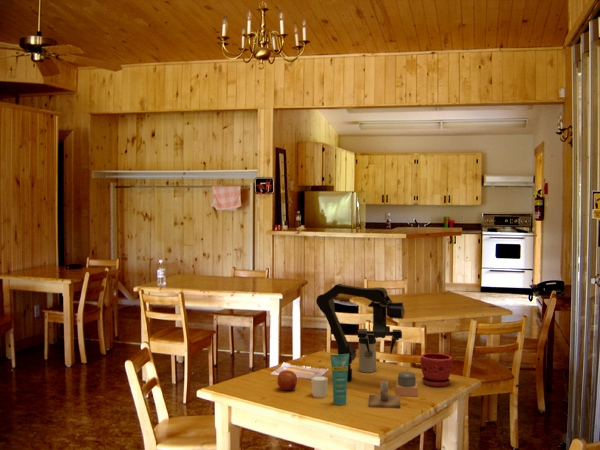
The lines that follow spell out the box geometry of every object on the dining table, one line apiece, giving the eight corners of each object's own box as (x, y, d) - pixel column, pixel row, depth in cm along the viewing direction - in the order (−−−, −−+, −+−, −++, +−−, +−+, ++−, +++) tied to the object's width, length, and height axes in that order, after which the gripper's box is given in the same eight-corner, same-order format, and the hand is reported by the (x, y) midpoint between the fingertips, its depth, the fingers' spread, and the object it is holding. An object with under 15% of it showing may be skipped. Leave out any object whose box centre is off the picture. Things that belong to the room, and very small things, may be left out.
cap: (402, 387, 240) (402, 377, 240) (395, 382, 247) (395, 372, 247) (417, 386, 242) (417, 375, 242) (410, 381, 249) (410, 371, 249)
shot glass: (330, 393, 245) (330, 376, 245) (325, 398, 238) (325, 381, 238) (314, 392, 247) (313, 375, 247) (308, 397, 241) (308, 379, 240)
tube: (332, 406, 229) (332, 356, 229) (329, 402, 234) (328, 353, 234) (351, 404, 231) (350, 354, 231) (347, 400, 236) (347, 351, 235)
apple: (283, 385, 256) (283, 367, 256) (301, 388, 252) (301, 369, 252) (274, 390, 249) (274, 371, 249) (292, 393, 245) (291, 374, 245)
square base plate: (368, 406, 228) (368, 386, 228) (369, 397, 240) (369, 377, 240) (400, 408, 226) (400, 387, 226) (399, 398, 238) (399, 378, 238)
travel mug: (359, 367, 283) (359, 330, 283) (376, 368, 282) (376, 330, 281) (358, 372, 276) (357, 333, 275) (375, 373, 274) (375, 334, 273)
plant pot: (452, 388, 250) (452, 360, 249) (420, 386, 253) (420, 358, 252) (452, 380, 262) (452, 352, 262) (421, 378, 265) (421, 351, 265)
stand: (397, 395, 241) (397, 387, 241) (396, 389, 249) (396, 381, 249) (417, 396, 240) (417, 387, 240) (416, 390, 248) (416, 381, 248)
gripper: (356, 320, 251) (357, 357, 251) (402, 321, 248) (402, 358, 248) (358, 315, 262) (358, 351, 262) (401, 316, 259) (401, 352, 259)
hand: (379, 353), depth 258 cm, fingers open, 9 cm apart
